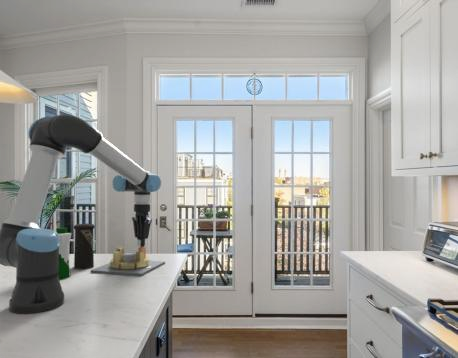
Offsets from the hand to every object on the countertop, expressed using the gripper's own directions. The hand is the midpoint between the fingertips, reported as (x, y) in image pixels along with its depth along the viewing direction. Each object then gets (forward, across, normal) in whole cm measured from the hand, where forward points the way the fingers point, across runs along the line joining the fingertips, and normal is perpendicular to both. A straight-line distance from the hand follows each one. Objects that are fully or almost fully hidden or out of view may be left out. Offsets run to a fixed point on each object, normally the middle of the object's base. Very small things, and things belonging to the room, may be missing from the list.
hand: (141, 253), depth 166 cm
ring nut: (+4, -2, +7) cm, 9 cm away
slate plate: (+5, -2, +7) cm, 9 cm away
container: (+6, +15, +20) cm, 26 cm away
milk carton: (+6, +5, +37) cm, 38 cm away
